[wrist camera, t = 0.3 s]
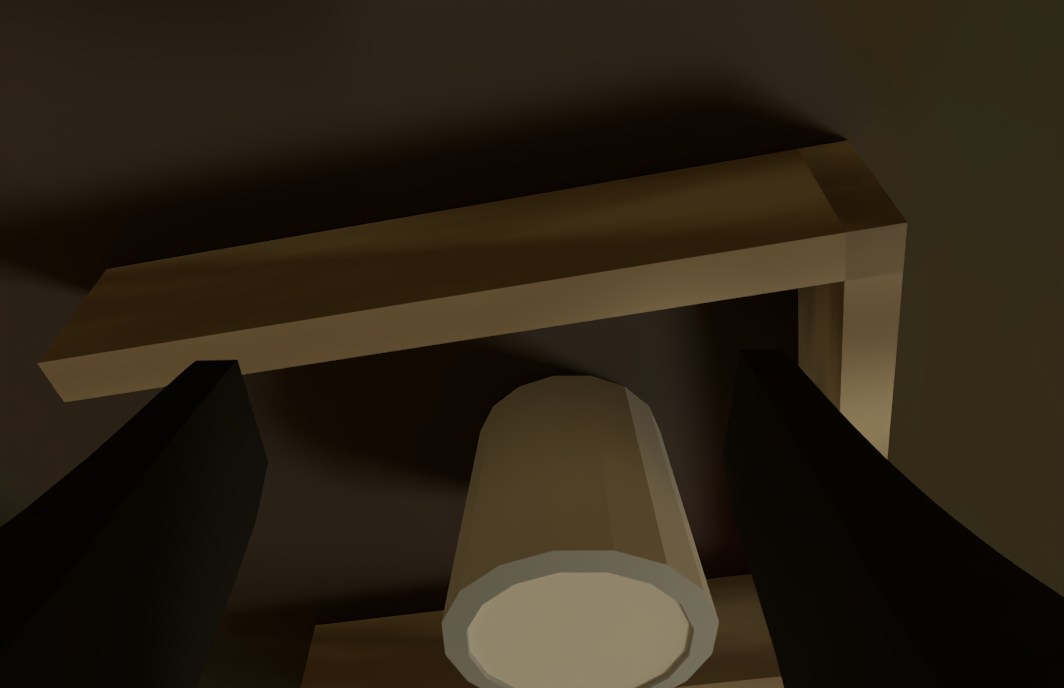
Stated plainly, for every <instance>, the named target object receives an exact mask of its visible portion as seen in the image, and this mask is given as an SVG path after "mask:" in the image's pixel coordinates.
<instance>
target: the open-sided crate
mask: <svg viewBox="0 0 1064 688" xmlns="http://www.w3.org/2000/svg"><path fill="white" fill-rule="evenodd" d="M906 231H907V222H906V220H905V219H904V217H903V216H902V215H901V213H900V212H899V210H898V209H897V207H896V206H895V205H894V203H893V202H892V200H891V199H890V198H889V196H888V195H887V193H886V192H885V191H884V189H883V188H882V186H881V185H880V184H879V182H878V181H877V179H876V178H875V176H874V175H873V174H872V172H871V171H870V169H869V168H868V167H867V165H866V164H865V162H864V161H863V160H862V158H861V157H860V155H859V154H858V153H857V151H856V150H855V148H854V147H853V145H852V144H851V143H850V141H849V140H846V141H841V142H835V143H829V144H823V145H818V146H812V147H806V148H800V149H795V150H789V151H783V152H777V153H772V154H766V155H760V156H754V157H749V158H743V159H737V160H731V161H726V162H720V163H714V164H708V165H703V166H697V167H691V168H685V169H679V170H674V171H668V172H662V173H656V174H651V175H645V176H639V177H633V178H628V179H622V180H616V181H610V182H605V183H599V184H593V185H587V186H582V187H576V188H570V189H564V190H559V191H553V192H547V193H541V194H536V195H530V196H524V197H518V198H513V199H507V200H501V201H495V202H490V203H484V204H478V205H472V206H467V207H461V208H455V209H449V210H444V211H438V212H432V213H426V214H421V215H415V216H409V217H403V218H398V219H392V220H386V221H380V222H375V223H369V224H363V225H357V226H351V227H346V228H340V229H334V230H328V231H323V232H317V233H311V234H305V235H300V236H294V237H288V238H282V239H277V240H271V241H265V242H259V243H254V244H248V245H242V246H236V247H231V248H225V249H219V250H213V251H208V252H202V253H196V254H190V255H185V256H179V257H173V258H167V259H162V260H156V261H150V262H144V263H139V264H133V265H127V266H121V267H116V268H110V269H107V270H106V271H105V272H104V274H103V275H102V276H101V278H100V279H99V280H98V282H97V283H96V284H95V286H94V287H93V288H92V290H91V291H90V292H89V294H88V295H87V297H86V298H85V299H84V301H83V302H82V303H81V305H80V306H79V307H78V309H77V310H76V311H75V313H74V314H73V315H72V317H71V318H70V320H69V321H68V322H67V324H66V325H65V326H64V328H63V329H62V330H61V332H60V333H59V334H58V336H57V337H56V338H55V340H54V341H53V342H52V344H51V345H50V347H49V348H48V349H47V351H46V352H45V353H44V355H43V356H42V357H41V359H40V360H39V361H38V363H37V364H38V365H39V367H40V368H41V369H42V371H43V372H44V374H45V375H46V377H47V378H48V379H49V381H50V382H51V384H52V385H53V387H54V388H55V390H56V391H57V392H58V394H59V395H60V397H61V398H62V400H63V401H64V402H69V401H75V400H82V399H88V398H95V397H101V396H108V395H114V394H120V393H127V392H133V391H140V390H146V389H153V388H159V387H165V386H167V385H168V384H170V383H171V382H172V381H173V380H174V379H175V378H176V377H177V376H178V375H179V374H181V373H182V372H183V371H184V370H185V369H186V368H187V367H189V366H190V365H191V364H192V363H193V362H195V361H198V360H238V363H239V366H240V370H241V373H242V375H243V374H249V373H256V372H262V371H269V370H275V369H281V368H288V367H294V366H301V365H307V364H314V363H320V362H327V361H333V360H339V359H346V358H352V357H359V356H365V355H372V354H378V353H384V352H391V351H397V350H404V349H410V348H417V347H423V346H430V345H436V344H442V343H449V342H455V341H462V340H468V339H475V338H481V337H488V336H494V335H500V334H507V333H513V332H520V331H526V330H533V329H539V328H546V327H552V326H558V325H565V324H571V323H578V322H584V321H591V320H597V319H603V318H610V317H616V316H623V315H629V314H636V313H642V312H649V311H655V310H661V309H668V308H674V307H681V306H687V305H694V304H700V303H707V302H713V301H719V300H726V299H732V298H739V297H745V296H752V295H758V294H765V293H771V292H777V291H784V290H790V289H797V288H798V366H799V367H800V368H801V369H802V370H803V371H804V372H805V374H806V375H807V376H808V377H809V378H810V379H811V380H812V381H813V382H814V384H815V385H816V386H817V387H818V388H819V389H820V390H821V391H822V392H823V394H824V395H825V396H826V397H827V398H828V399H829V400H830V401H831V402H832V403H833V404H834V405H835V407H836V408H837V409H838V410H839V411H840V412H841V413H842V414H843V415H844V416H845V417H846V418H847V419H848V420H849V421H850V423H851V424H852V425H853V426H854V427H855V428H856V429H857V430H858V431H859V432H860V433H861V434H862V435H863V436H864V437H865V438H866V439H867V440H868V441H869V442H870V443H871V444H872V445H873V446H874V447H875V448H876V449H877V450H878V451H879V452H880V453H881V454H882V455H883V456H884V457H885V458H886V459H887V456H888V444H889V432H890V420H891V409H892V397H893V385H894V373H895V361H896V349H897V338H898V326H899V314H900V302H901V290H902V279H903V267H904V255H905V243H906ZM706 582H707V585H708V588H709V591H710V594H711V598H712V601H713V604H714V607H715V611H716V614H717V617H718V620H719V625H718V629H717V634H716V639H715V643H714V648H713V652H712V654H711V656H710V657H709V658H708V659H707V660H706V661H705V662H704V663H703V664H702V665H701V666H700V667H699V668H698V669H697V670H696V671H695V673H694V674H693V675H692V676H691V677H690V678H689V679H688V680H687V681H686V682H684V683H682V684H680V685H678V686H676V687H674V688H784V686H783V682H782V678H781V674H780V670H779V666H778V662H777V658H776V654H775V651H774V648H773V644H772V641H771V638H770V634H769V631H768V628H767V624H766V621H765V618H764V614H763V611H762V608H761V605H760V601H759V598H758V595H757V591H756V588H755V585H754V581H753V578H752V575H751V574H746V575H738V576H729V577H721V578H712V579H706ZM443 613H444V610H441V611H432V612H424V613H416V614H407V615H399V616H390V617H382V618H373V619H365V620H356V621H348V622H339V623H331V624H322V625H315V629H314V633H313V637H312V642H311V646H310V650H309V655H308V659H307V663H306V667H305V672H304V676H303V680H302V685H301V688H479V687H478V686H476V685H474V684H472V683H470V682H468V681H467V680H466V679H465V677H464V676H463V675H462V674H461V673H460V671H459V670H458V669H457V668H456V667H455V665H454V664H453V663H452V662H451V661H450V659H449V658H448V657H447V656H446V655H445V648H444V640H443V631H442V618H443Z"/></svg>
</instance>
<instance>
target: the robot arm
mask: <svg viewBox="0 0 1064 688" xmlns="http://www.w3.org/2000/svg"><path fill="white" fill-rule="evenodd" d="M724 457H725V463H726V470H727V476H728V483H729V489H730V495H731V500H732V506H733V512H734V517H735V520H736V524H737V527H738V531H739V534H740V538H741V541H742V545H743V548H744V551H745V555H746V558H747V561H748V565H749V568H750V571H751V575H752V578H753V581H754V585H755V588H756V591H757V595H758V598H759V601H760V605H761V608H762V611H763V614H764V618H765V621H766V624H767V628H768V631H769V634H770V638H771V641H772V644H773V648H774V651H775V654H776V658H777V662H778V666H779V670H780V674H781V678H782V682H783V686H784V688H1064V597H1062V596H1061V595H1059V594H1058V593H1056V592H1055V591H1053V590H1052V589H1050V588H1049V587H1048V586H1046V585H1045V584H1043V583H1042V582H1040V581H1039V580H1037V579H1036V578H1034V577H1033V576H1031V575H1030V574H1028V573H1027V572H1025V571H1024V570H1022V569H1021V568H1019V567H1018V566H1016V565H1015V564H1014V563H1012V562H1011V561H1009V560H1008V559H1007V558H1005V557H1004V556H1002V555H1001V554H1000V553H998V552H997V551H996V550H994V549H993V548H991V547H990V546H989V545H988V544H986V543H985V542H984V541H982V540H981V539H980V538H979V537H977V536H976V535H975V534H973V533H972V532H971V531H970V530H968V529H967V528H966V527H964V526H963V525H962V524H961V523H959V522H958V521H957V520H955V519H954V518H953V517H952V516H950V515H949V514H948V513H947V512H945V511H944V510H943V509H942V508H941V507H939V506H938V505H937V504H936V503H935V502H933V501H932V500H931V499H930V498H929V497H928V496H927V495H925V494H924V493H923V492H922V491H921V490H920V489H919V488H918V487H917V486H915V485H914V484H913V483H912V482H911V481H910V480H909V479H908V478H907V477H905V476H904V475H903V474H902V473H901V472H900V471H899V470H898V469H897V468H896V467H895V466H893V465H892V464H891V463H890V462H889V461H888V460H887V459H886V458H885V457H884V456H883V455H882V454H881V453H880V452H879V451H878V450H877V449H876V448H875V447H874V446H873V445H872V444H871V443H870V442H869V441H868V440H867V439H866V438H865V437H864V436H863V435H862V434H861V433H860V432H859V431H858V430H857V429H856V428H855V427H854V426H853V425H852V424H851V423H850V421H849V420H848V419H847V418H846V417H845V416H844V415H843V414H842V413H841V412H840V411H839V410H838V409H837V408H836V407H835V405H834V404H833V403H832V402H831V401H830V400H829V399H828V398H827V397H826V396H825V395H824V394H823V392H822V391H821V390H820V389H819V388H818V387H817V386H816V385H815V384H814V382H813V381H812V380H811V379H810V378H809V377H808V376H807V375H806V374H805V372H804V371H803V370H802V369H801V368H800V367H799V366H798V365H797V364H796V362H795V361H794V360H793V359H792V358H791V357H790V356H789V355H788V354H787V353H786V352H785V351H784V350H783V349H782V350H740V355H739V361H738V368H737V374H736V380H735V387H734V393H733V400H732V406H731V412H730V419H729V425H728V432H727V438H726V444H725V451H724ZM267 464H268V460H267V457H266V454H265V450H264V447H263V444H262V440H261V437H260V433H259V430H258V427H257V423H256V420H255V417H254V413H253V410H252V407H251V403H250V400H249V397H248V393H247V390H246V386H245V383H244V380H243V376H242V373H241V370H240V366H239V363H238V360H198V361H195V362H193V363H192V364H191V365H190V366H189V367H187V368H186V369H185V370H184V371H183V372H182V373H181V374H179V375H178V376H177V377H176V378H175V379H174V380H173V381H172V382H171V383H170V384H168V385H167V386H166V387H165V388H164V389H163V390H162V391H161V392H160V393H159V394H158V395H156V396H155V397H154V398H153V399H152V400H151V401H150V402H149V403H148V404H147V405H146V406H145V407H143V408H142V409H141V410H140V411H139V412H138V413H137V414H136V415H135V416H134V417H133V418H131V419H130V420H129V421H128V422H127V423H126V424H125V425H124V426H123V427H121V428H120V429H119V430H118V431H117V432H116V433H115V434H114V435H113V436H111V437H110V438H109V439H108V440H107V441H106V442H105V443H104V444H103V445H101V446H100V447H99V448H98V449H97V450H96V451H95V452H94V453H92V454H91V455H90V456H89V457H88V458H87V459H85V460H84V461H83V462H82V463H81V464H79V465H78V466H77V467H76V468H74V469H73V470H72V471H71V472H70V473H68V474H67V475H66V476H65V477H64V478H62V479H61V480H60V481H59V482H57V483H56V484H55V485H54V486H53V487H51V488H50V489H49V490H48V491H47V492H45V493H44V494H43V495H42V496H40V497H39V498H38V499H37V500H36V501H34V502H33V503H32V504H31V505H29V506H28V507H27V508H26V509H24V510H23V511H22V512H20V513H19V514H18V515H16V516H15V517H14V518H12V519H11V520H10V521H8V522H7V523H6V524H4V525H3V526H2V527H0V688H197V687H198V684H199V681H200V678H201V674H202V671H203V668H204V665H205V662H206V659H207V656H208V653H209V651H210V648H211V645H212V642H213V640H214V637H215V634H216V631H217V629H218V626H219V623H220V620H221V618H222V615H223V612H224V609H225V607H226V604H227V601H228V598H229V596H230V593H231V590H232V587H233V585H234V582H235V579H236V576H237V574H238V571H239V568H240V565H241V562H242V559H243V557H244V554H245V551H246V548H247V545H248V542H249V540H250V537H251V534H252V531H253V528H254V525H255V521H256V517H257V512H258V508H259V503H260V499H261V494H262V489H263V484H264V479H265V474H266V469H267Z"/></svg>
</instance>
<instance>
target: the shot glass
mask: <svg viewBox="0 0 1064 688" xmlns="http://www.w3.org/2000/svg"><path fill="white" fill-rule="evenodd" d="M718 625H719V620H718V617H717V614H716V611H715V607H714V604H713V601H712V598H711V594H710V591H709V588H708V585H707V582H706V578H705V575H704V572H703V569H702V565H701V562H700V559H699V556H698V552H697V549H696V546H695V543H694V540H693V536H692V533H691V530H690V527H689V523H688V520H687V517H686V514H685V511H684V507H683V504H682V501H681V498H680V494H679V491H678V488H677V485H676V482H675V478H674V475H673V472H672V469H671V465H670V462H669V459H668V456H667V452H666V449H665V446H664V443H663V440H662V436H661V433H660V430H659V428H658V426H657V424H656V421H655V419H654V417H653V415H652V412H651V410H650V408H649V406H648V405H647V404H645V403H644V402H643V401H642V400H640V399H639V398H638V397H637V396H636V395H634V394H633V393H632V392H631V391H629V390H628V389H627V388H626V387H624V386H621V385H618V384H615V383H612V382H609V381H606V380H603V379H599V378H596V377H593V376H551V377H548V378H545V379H541V380H538V381H535V382H532V383H529V384H526V385H523V386H520V387H518V388H516V389H515V390H514V391H513V392H511V393H510V394H509V395H507V396H506V397H505V398H504V399H502V400H501V401H500V402H498V403H497V404H496V405H494V406H493V408H492V410H491V412H490V414H489V415H488V417H487V419H486V421H485V423H484V425H483V427H482V429H481V431H480V436H479V441H478V446H477V450H476V455H475V460H474V465H473V470H472V475H471V480H470V485H469V490H468V495H467V500H466V505H465V510H464V515H463V519H462V524H461V529H460V534H459V539H458V544H457V549H456V554H455V559H454V564H453V569H452V574H451V579H450V584H449V589H448V593H447V598H446V603H445V608H444V613H443V618H442V631H443V640H444V648H445V655H446V656H447V657H448V658H449V659H450V661H451V662H452V663H453V664H454V665H455V667H456V668H457V669H458V670H459V671H460V673H461V674H462V675H463V676H464V677H465V679H466V680H467V681H468V682H470V683H472V684H474V685H476V686H478V687H479V688H674V687H676V686H678V685H680V684H682V683H684V682H686V681H687V680H688V679H689V678H690V677H691V676H692V675H693V674H694V673H695V671H696V670H697V669H698V668H699V667H700V666H701V665H702V664H703V663H704V662H705V661H706V660H707V659H708V658H709V657H710V656H711V654H712V652H713V648H714V643H715V639H716V634H717V629H718Z"/></svg>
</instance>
